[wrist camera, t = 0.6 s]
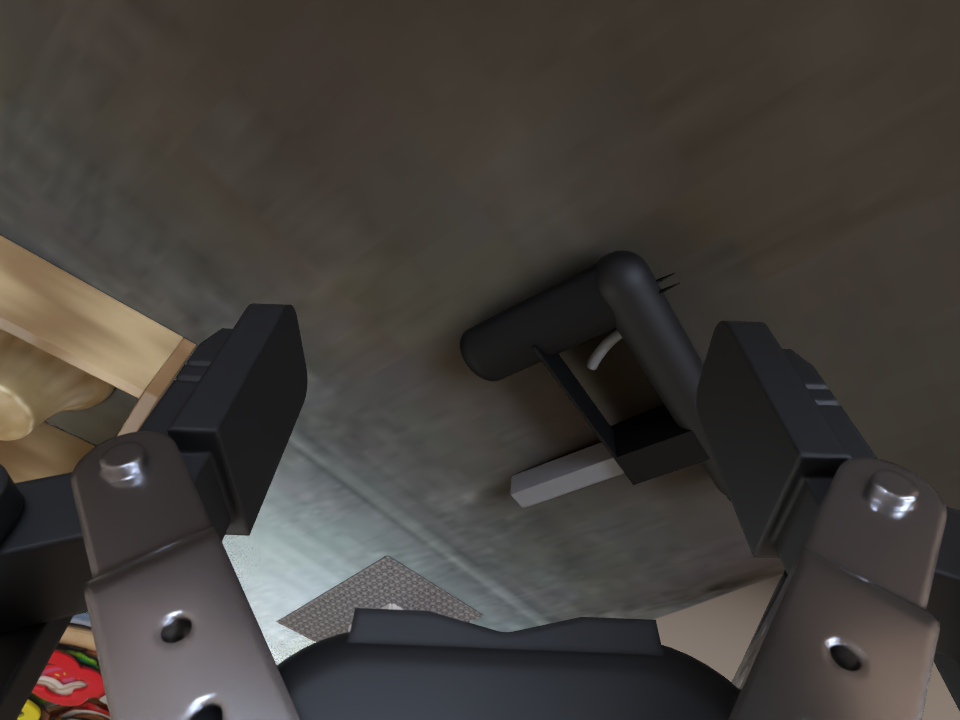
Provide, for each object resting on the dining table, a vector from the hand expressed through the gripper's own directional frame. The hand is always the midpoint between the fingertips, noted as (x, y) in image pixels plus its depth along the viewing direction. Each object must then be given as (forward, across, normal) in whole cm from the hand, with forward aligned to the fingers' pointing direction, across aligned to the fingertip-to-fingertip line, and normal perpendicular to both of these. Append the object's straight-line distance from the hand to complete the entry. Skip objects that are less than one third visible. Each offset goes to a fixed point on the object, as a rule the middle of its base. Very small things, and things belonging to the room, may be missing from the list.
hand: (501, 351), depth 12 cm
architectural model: (+20, +9, +44) cm, 49 cm away
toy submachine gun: (+20, -7, +18) cm, 28 cm away
